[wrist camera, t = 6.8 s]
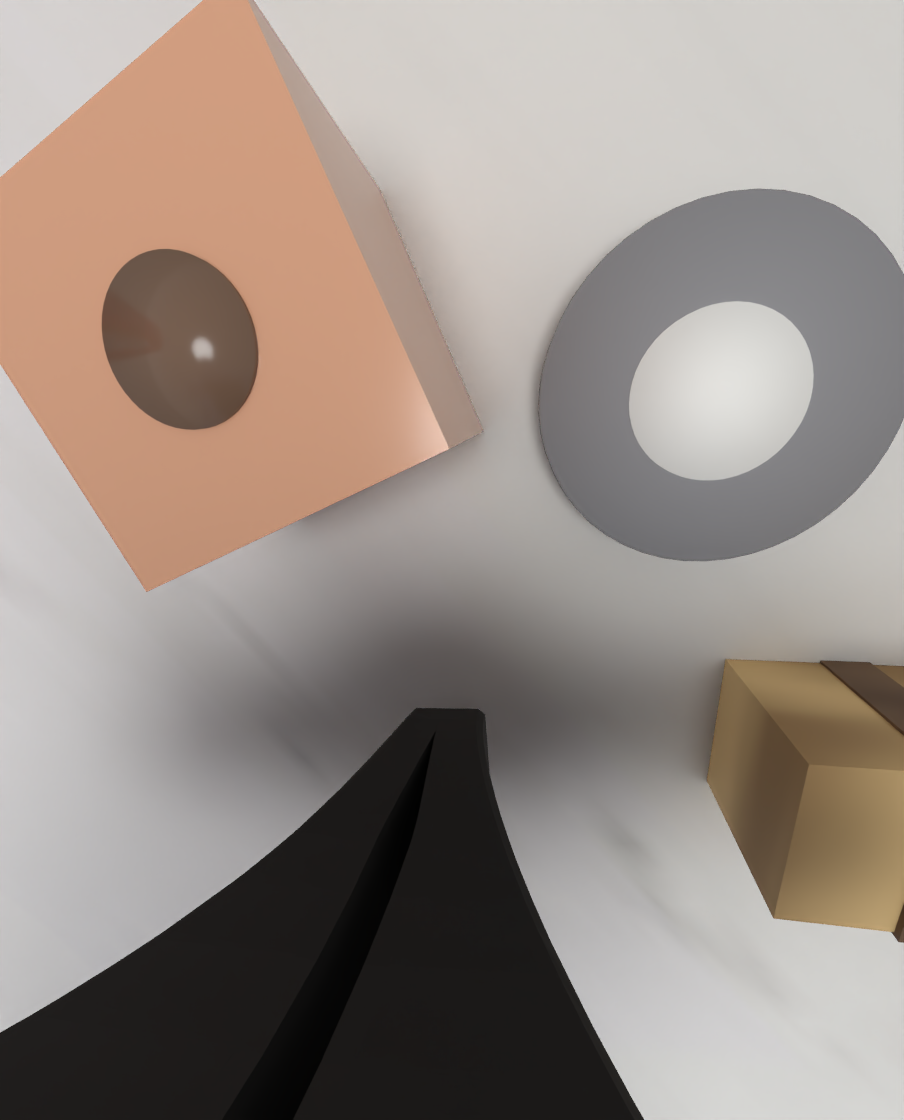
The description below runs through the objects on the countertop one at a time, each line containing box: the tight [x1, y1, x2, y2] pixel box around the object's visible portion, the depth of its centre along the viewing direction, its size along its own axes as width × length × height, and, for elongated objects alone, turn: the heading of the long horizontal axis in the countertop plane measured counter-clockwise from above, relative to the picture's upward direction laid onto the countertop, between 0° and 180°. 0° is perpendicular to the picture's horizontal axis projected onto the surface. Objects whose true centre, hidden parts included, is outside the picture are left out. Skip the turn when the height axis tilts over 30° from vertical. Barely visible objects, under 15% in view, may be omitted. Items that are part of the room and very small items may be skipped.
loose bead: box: [0, 0, 484, 592], centre depth 6 cm, size 4×4×4 cm
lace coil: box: [539, 189, 904, 561], centre depth 7 cm, size 5×5×1 cm
